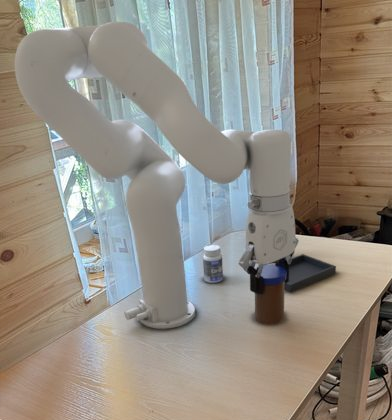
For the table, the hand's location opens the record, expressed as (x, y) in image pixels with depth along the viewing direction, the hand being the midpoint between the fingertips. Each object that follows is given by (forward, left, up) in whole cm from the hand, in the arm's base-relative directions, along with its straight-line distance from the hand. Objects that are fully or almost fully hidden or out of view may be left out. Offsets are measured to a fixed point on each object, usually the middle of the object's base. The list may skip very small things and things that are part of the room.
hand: (269, 285), depth 107 cm
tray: (+19, +11, -7) cm, 23 cm away
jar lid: (0, 0, +3) cm, 3 cm away
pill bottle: (+3, +24, -8) cm, 25 cm away
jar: (0, 0, -7) cm, 7 cm away
